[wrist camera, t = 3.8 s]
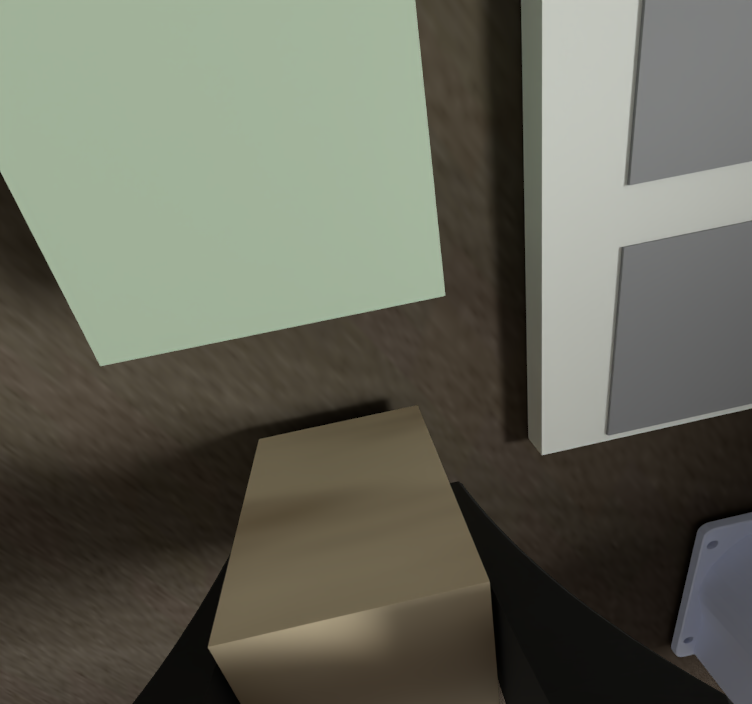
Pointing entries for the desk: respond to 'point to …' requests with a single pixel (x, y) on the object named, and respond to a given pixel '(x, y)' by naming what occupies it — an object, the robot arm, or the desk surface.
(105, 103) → the sage post
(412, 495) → the wooden toy cube
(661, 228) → the board
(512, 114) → the desk surface
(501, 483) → the desk surface
